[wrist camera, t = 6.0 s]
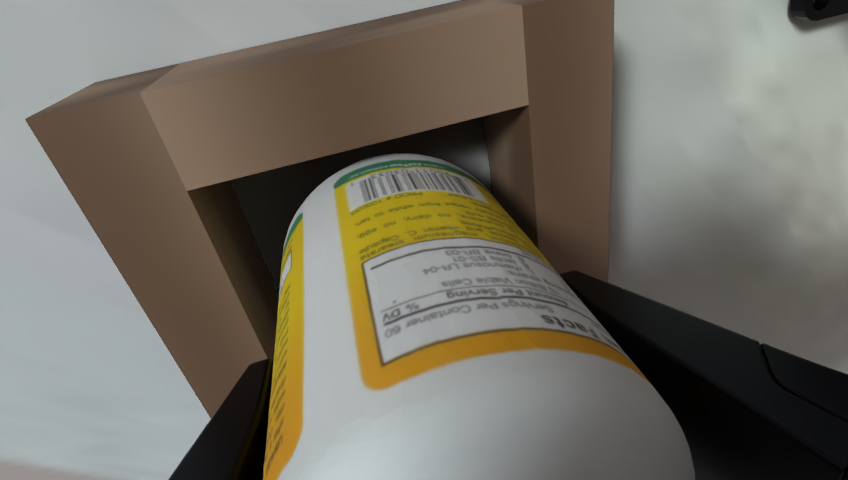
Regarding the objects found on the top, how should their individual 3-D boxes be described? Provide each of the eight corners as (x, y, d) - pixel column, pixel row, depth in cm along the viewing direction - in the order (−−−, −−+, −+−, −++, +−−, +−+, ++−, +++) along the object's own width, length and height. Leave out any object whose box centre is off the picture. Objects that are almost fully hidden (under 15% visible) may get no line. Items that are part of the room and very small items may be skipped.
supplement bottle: (411, 95, 10) (951, 677, 2) (537, 252, 13) (982, 774, 4) (227, 256, 11) (-10, 1177, 3) (382, 373, 13) (513, 1001, 5)
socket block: (541, -18, 11) (614, -16, 8) (557, 313, 16) (605, 377, 14) (95, 82, 10) (24, 119, 7) (262, 402, 15) (254, 489, 13)
